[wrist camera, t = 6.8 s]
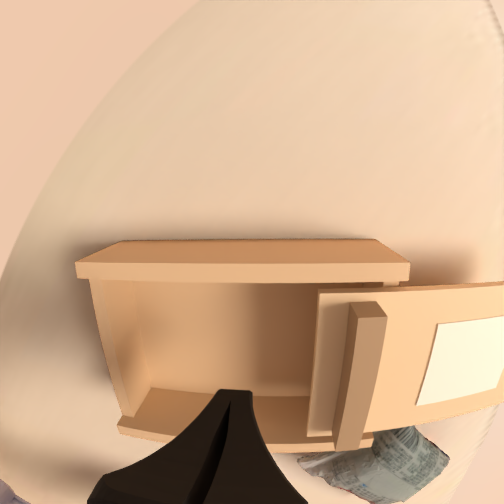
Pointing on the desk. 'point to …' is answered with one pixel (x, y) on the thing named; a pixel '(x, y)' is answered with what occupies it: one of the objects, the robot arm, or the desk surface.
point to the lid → (404, 357)
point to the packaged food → (381, 466)
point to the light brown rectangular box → (223, 326)
